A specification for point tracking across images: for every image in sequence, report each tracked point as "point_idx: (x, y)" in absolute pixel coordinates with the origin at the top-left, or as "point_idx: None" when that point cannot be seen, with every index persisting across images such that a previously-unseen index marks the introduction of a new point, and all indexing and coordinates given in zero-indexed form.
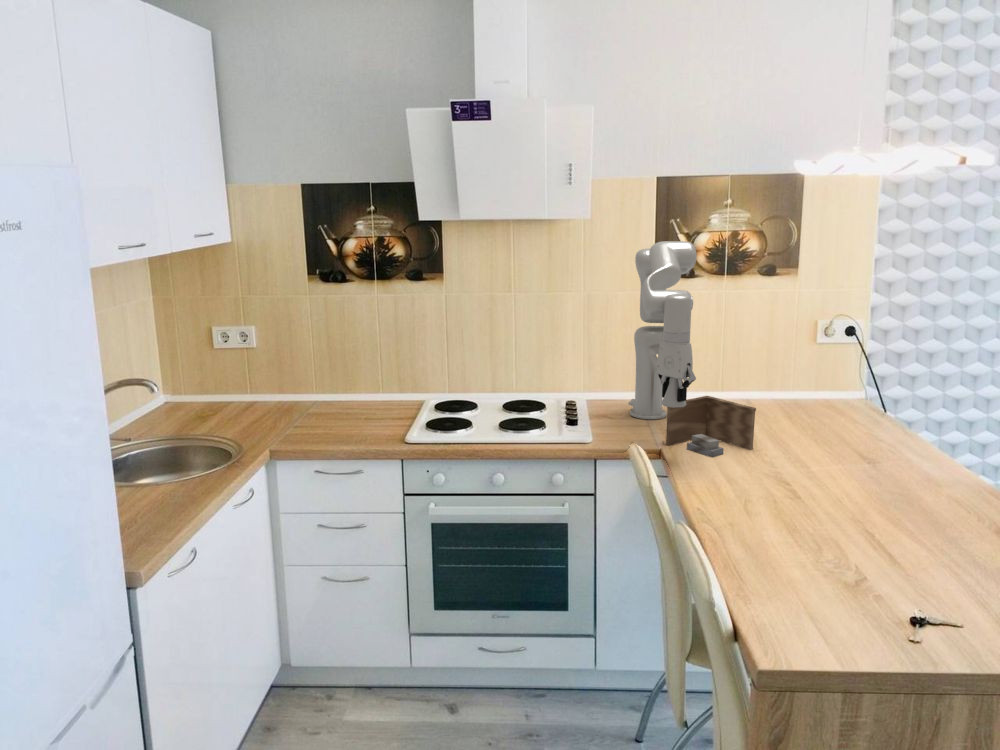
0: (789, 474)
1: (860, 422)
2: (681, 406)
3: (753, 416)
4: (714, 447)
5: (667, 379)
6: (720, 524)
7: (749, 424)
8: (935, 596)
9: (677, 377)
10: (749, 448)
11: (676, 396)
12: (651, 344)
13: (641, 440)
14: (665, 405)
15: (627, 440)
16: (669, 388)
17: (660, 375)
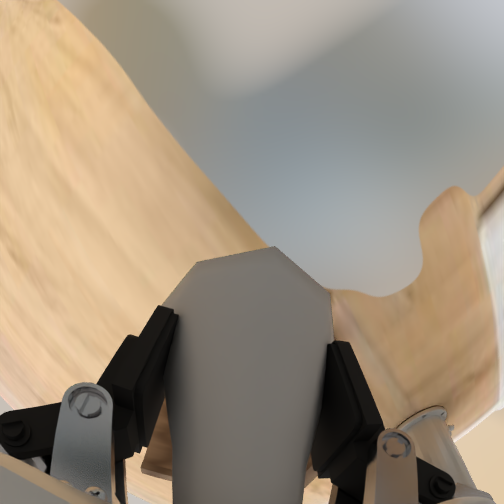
0: (38, 306)
1: (158, 497)
2: (164, 306)
3: (145, 455)
4: None
5: (357, 492)
6: (23, 16)
7: (157, 439)
8: None
9: (4, 474)
10: (165, 399)
11: (184, 343)
12: None
13: (396, 320)
14: (265, 252)
15: (422, 298)
16: (263, 391)
17: (437, 491)
